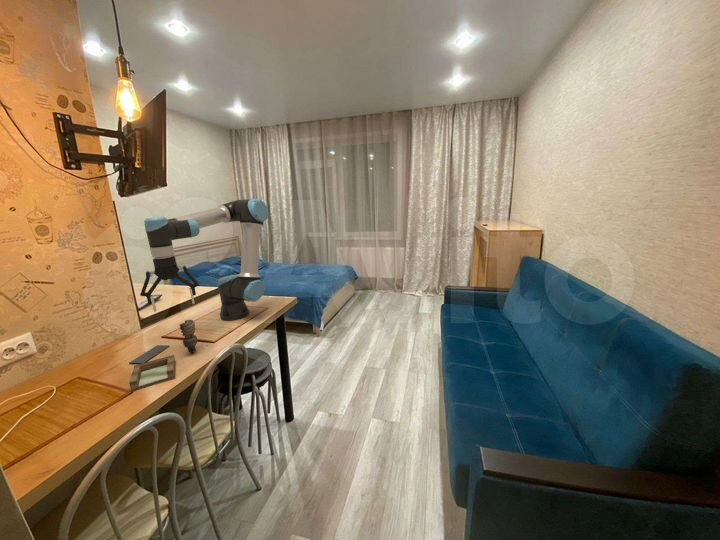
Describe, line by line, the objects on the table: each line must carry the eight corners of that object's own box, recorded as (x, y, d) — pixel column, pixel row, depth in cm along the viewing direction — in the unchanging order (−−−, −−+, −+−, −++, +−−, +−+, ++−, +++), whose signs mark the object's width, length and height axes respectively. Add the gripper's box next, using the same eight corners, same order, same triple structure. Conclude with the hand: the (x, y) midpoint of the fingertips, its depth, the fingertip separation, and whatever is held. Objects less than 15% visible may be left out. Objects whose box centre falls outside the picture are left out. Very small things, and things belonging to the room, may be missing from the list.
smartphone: (170, 345, 132) (142, 363, 118) (170, 347, 132) (143, 365, 118) (156, 345, 133) (127, 362, 118) (157, 346, 133) (128, 364, 119)
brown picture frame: (175, 378, 107) (173, 369, 106) (131, 391, 101) (129, 382, 100) (175, 362, 118) (173, 354, 117) (136, 373, 112) (134, 365, 111)
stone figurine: (198, 348, 129) (191, 317, 125) (202, 352, 125) (195, 320, 121) (184, 353, 125) (177, 321, 121) (187, 357, 121) (180, 324, 117)
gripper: (198, 251, 124) (207, 297, 130) (125, 260, 111) (138, 311, 116) (199, 253, 118) (209, 302, 124) (123, 263, 105) (137, 317, 110)
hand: (174, 306), depth 120 cm, fingers open, 13 cm apart
